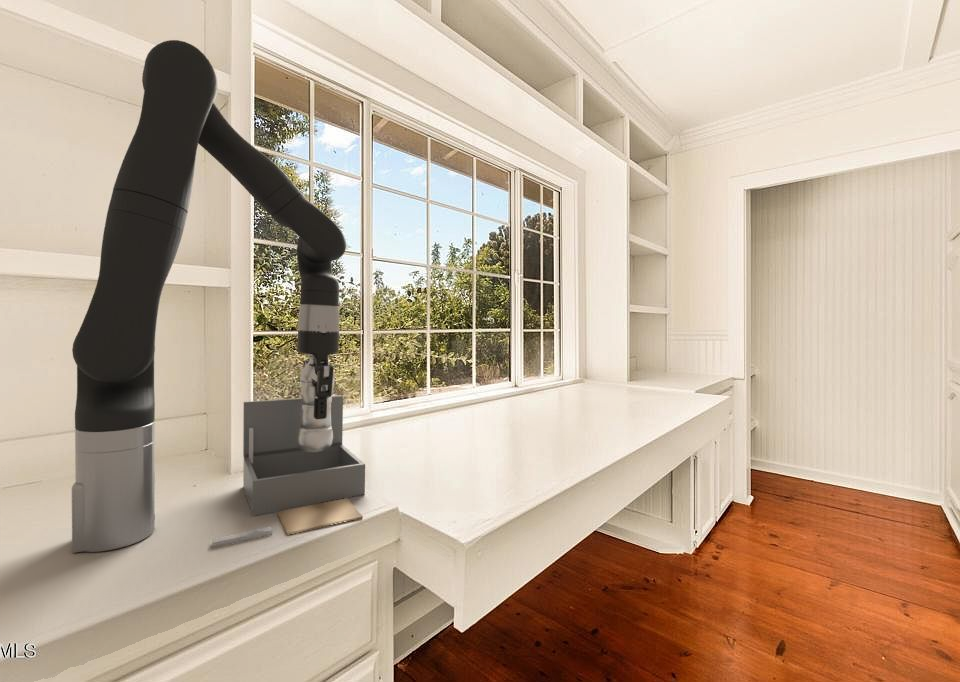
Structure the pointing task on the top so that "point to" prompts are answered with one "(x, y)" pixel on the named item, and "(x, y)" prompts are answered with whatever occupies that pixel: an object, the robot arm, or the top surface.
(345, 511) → the cork pad
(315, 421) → the plastic bottle
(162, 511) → the top surface
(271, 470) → the case
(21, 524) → the top surface
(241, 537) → the rod
